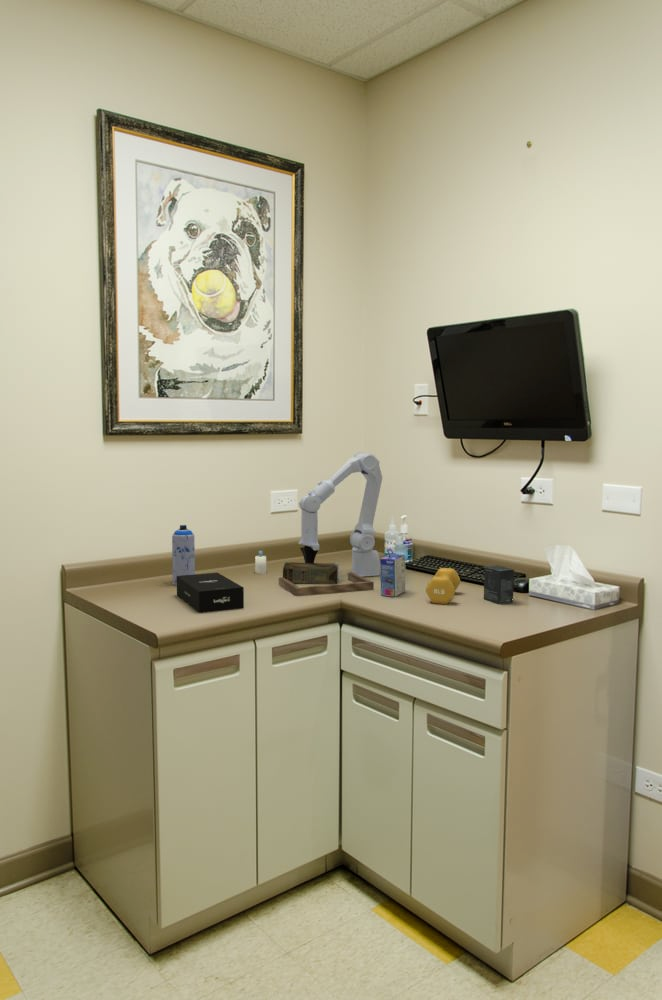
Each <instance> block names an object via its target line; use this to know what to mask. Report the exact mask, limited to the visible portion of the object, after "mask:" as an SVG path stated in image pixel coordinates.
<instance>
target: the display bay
mask: <svg viewBox="0 0 662 1000" xmlns="http://www.w3.org/2000/svg"><path fill="white" fill-rule="evenodd" d="M347 580H348V581H349V582H345V583H338V584H318V585H310V586H309V585H308V586H298V585H296V583H292V582H290V581H288V580H287V579H285V578H283V576H282V577H278V585H279V586H280V587H281V588H283V589H284V590H286V591H288V592H289V593H291V594H293V595H294V596H296V597H301V596H302V597H303V596H315V595H325V594H337V593H350V592H351V593H352V592H359V591H360V592H362V591H372V590H375V588H374V584H375V583H374V581H372V580H370V579H368V578H366V577H361V576H359V575H357V574H355V573H352V571H348V572H347Z"/></svg>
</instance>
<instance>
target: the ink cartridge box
mask: <svg viewBox="0 0 662 1000" xmlns="http://www.w3.org/2000/svg"><path fill="white" fill-rule="evenodd" d="M386 552H387V555H386V556H384V557H380V558H379V571H380V595H381V596H385V597H391V598H395V597H398V596H399V595H401V594H402V593H404V592H406V555H405V554H401V553H400V554H399V553H394V552H393V549H392V548H387V549H386Z"/></svg>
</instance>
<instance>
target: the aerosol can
mask: <svg viewBox="0 0 662 1000" xmlns="http://www.w3.org/2000/svg"><path fill="white" fill-rule="evenodd" d="M171 546H172V549H171V550H172V551H171V552H172V553H171V554H172V555H171V557H172V583H171V585H173V586H177V576H182V575H194V574H196V566H195V565H196V563H195V562H196V559H195V534H194V532H193V531H192V530H190V529H189V528H188V527H187V524H181V525H179V528H178V529H177V530H175V531H174V533H173V534H172V536H171Z"/></svg>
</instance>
